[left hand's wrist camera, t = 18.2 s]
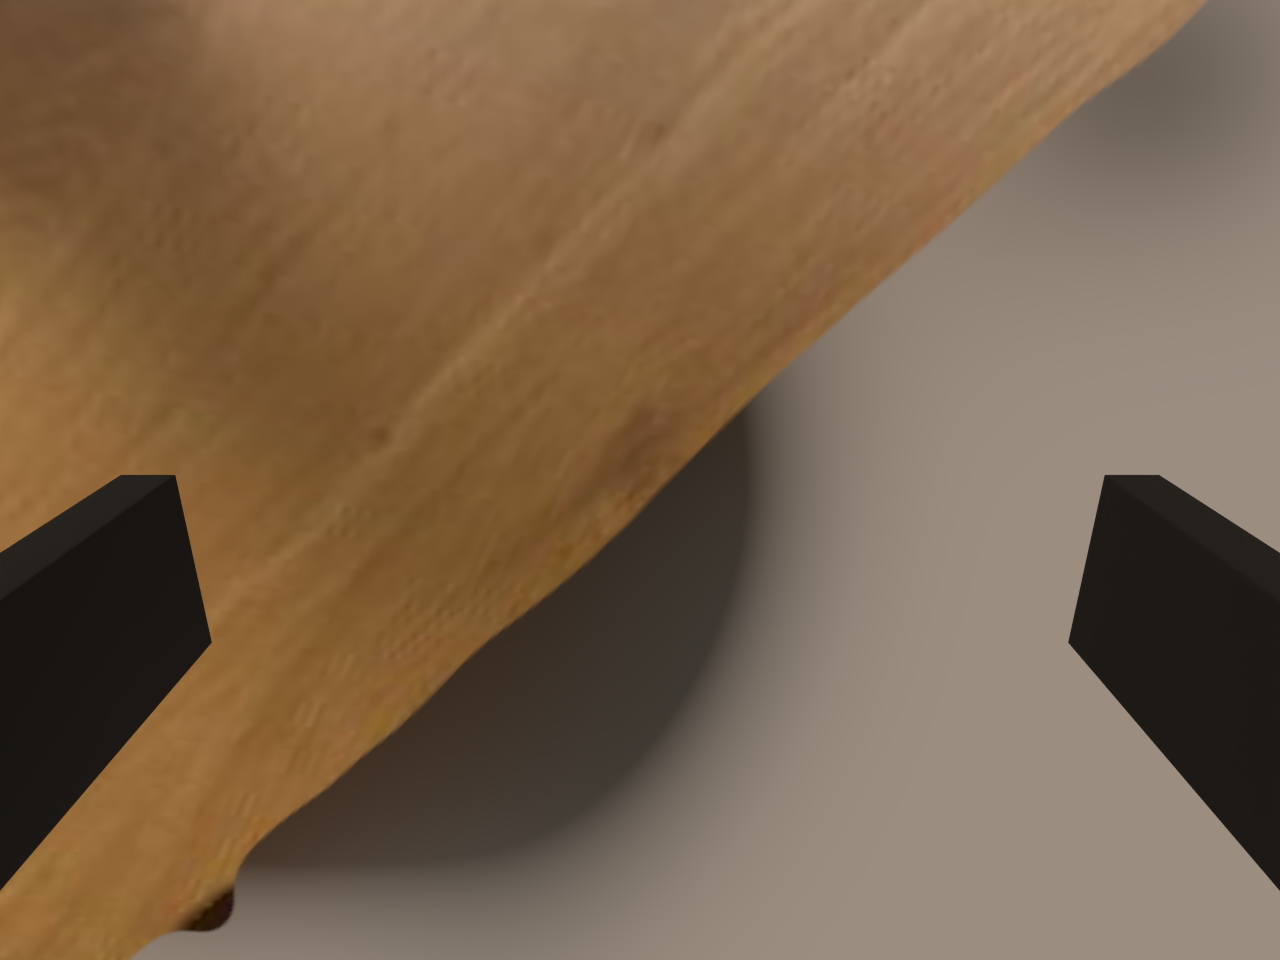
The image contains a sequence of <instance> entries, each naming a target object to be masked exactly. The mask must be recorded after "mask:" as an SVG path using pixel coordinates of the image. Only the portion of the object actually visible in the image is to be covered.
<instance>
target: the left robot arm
mask: <svg viewBox="0 0 1280 960" xmlns="http://www.w3.org/2000/svg"><path fill="white" fill-rule="evenodd" d="M211 643H212V642H211V637H210V632H209V628H208V623H207V619H206V614H205V610H204V605H203V600H202V596H201V591H200V587H199V582H198V577H197V573H196V568H195V564H194V559H193V554H192V550H191V545H190V541H189V536H188V532H187V527H186V522H185V518H184V513H183V509H182V504H181V499H180V495H179V490H178V486H177V481H176V476H175V475H120V476H119V477H117V478H116V479H114V480H112V481H111V482H109V483H108V484H106V485H105V486H103V487H102V488H100V489H99V490H97V491H95V492H94V493H92V494H91V495H89V496H88V497H86V498H85V499H83V500H81V501H80V502H78V503H77V504H75V505H74V506H72V507H71V508H69V509H68V510H66V511H64V512H63V513H61V514H60V515H58V516H57V517H55V518H54V519H52V520H50V521H49V522H47V523H46V524H44V525H43V526H41V527H40V528H38V529H37V530H35V531H33V532H32V533H30V534H29V535H27V536H26V537H24V538H23V539H21V540H19V541H18V542H16V543H15V544H13V545H12V546H10V547H9V548H7V549H6V550H4V551H2V552H1V553H0V890H1V889H2V888H3V887H4V886H5V884H6V883H7V882H8V881H9V880H10V879H11V877H12V876H13V875H14V874H15V873H16V871H17V870H18V869H19V868H20V867H21V866H22V864H23V863H24V862H25V861H26V860H27V859H28V857H29V856H30V855H31V854H32V853H33V852H34V850H35V849H36V848H37V847H38V846H39V844H40V843H41V842H42V841H43V840H44V839H45V837H46V836H47V835H48V834H49V833H50V832H51V830H52V829H53V828H54V827H55V826H56V825H57V823H58V822H59V821H60V820H61V819H62V818H63V816H64V815H65V814H66V813H67V812H68V810H69V809H70V808H71V807H72V806H73V805H74V803H75V802H76V801H77V800H78V799H79V798H80V796H81V795H82V794H83V793H84V792H85V791H86V789H87V788H88V787H89V786H90V785H91V783H92V782H93V781H94V780H95V779H96V778H97V776H98V775H99V774H100V773H101V772H102V771H103V769H104V768H105V767H106V766H107V765H108V764H109V762H110V761H111V760H112V759H113V758H114V757H115V755H116V754H117V753H118V752H119V751H120V749H121V748H122V747H123V746H124V745H125V744H126V742H127V741H128V740H129V739H130V738H131V737H132V735H133V734H134V733H135V732H136V731H137V730H138V728H139V727H140V726H141V725H142V724H143V723H144V721H145V720H146V719H147V718H148V717H149V715H150V714H151V713H152V712H153V711H154V710H155V708H156V707H157V706H158V705H159V704H160V703H161V701H162V700H163V699H164V698H165V697H166V696H167V694H168V693H169V692H170V691H171V690H172V688H173V687H174V686H175V685H176V684H177V683H178V681H179V680H180V679H181V678H182V677H183V676H184V674H185V673H186V672H187V671H188V670H189V669H190V667H191V666H192V665H193V664H194V663H195V662H196V660H197V659H198V658H199V657H200V656H201V654H202V653H203V652H204V651H205V650H206V649H207V647H208V646H209V645H210V644H211ZM1068 643H1069V644H1070V645H1071V646H1072V647H1073V649H1074V650H1075V651H1076V652H1077V653H1078V654H1079V656H1080V657H1081V658H1082V659H1083V660H1084V661H1085V663H1086V664H1087V665H1088V666H1089V667H1090V669H1091V670H1092V671H1093V672H1094V673H1095V674H1096V676H1097V677H1098V678H1099V679H1100V680H1101V681H1102V683H1103V684H1104V685H1105V686H1106V687H1107V688H1108V690H1109V691H1110V692H1111V693H1112V694H1113V696H1114V697H1115V698H1116V699H1117V700H1118V701H1119V703H1120V704H1121V705H1122V706H1123V707H1124V708H1125V710H1126V711H1127V712H1128V713H1129V714H1130V715H1131V717H1132V718H1133V719H1134V720H1135V721H1136V722H1137V724H1138V725H1139V726H1140V727H1141V728H1142V729H1143V731H1144V732H1145V733H1146V734H1147V735H1148V737H1149V738H1150V739H1151V740H1152V741H1153V742H1154V744H1155V745H1156V746H1157V747H1158V748H1159V749H1160V751H1161V752H1162V753H1163V754H1164V755H1165V757H1166V758H1167V759H1168V760H1169V761H1170V762H1171V764H1172V765H1173V766H1174V767H1175V768H1176V769H1177V771H1178V772H1179V773H1180V774H1181V775H1182V776H1183V778H1184V779H1185V780H1186V781H1187V782H1188V783H1189V785H1190V786H1191V787H1192V788H1193V789H1194V791H1195V792H1196V793H1197V794H1198V795H1199V796H1200V798H1201V799H1202V800H1203V801H1204V802H1205V803H1206V805H1207V806H1208V807H1209V808H1210V809H1211V810H1212V812H1213V813H1214V814H1215V815H1216V816H1217V818H1218V819H1219V820H1220V821H1221V822H1222V823H1223V825H1224V826H1225V827H1226V828H1227V829H1228V830H1229V832H1230V833H1231V834H1232V835H1233V836H1234V837H1235V839H1236V840H1237V841H1238V842H1239V843H1240V844H1241V846H1242V847H1243V848H1244V849H1245V850H1246V852H1247V853H1248V854H1249V855H1250V856H1251V857H1252V859H1253V860H1254V861H1255V862H1256V863H1257V864H1258V866H1259V867H1260V868H1261V869H1262V870H1263V871H1264V873H1265V874H1266V875H1267V876H1268V877H1269V879H1270V880H1271V881H1272V882H1273V883H1274V884H1275V886H1276V887H1277V888H1278V889H1279V890H1280V553H1279V552H1278V551H1276V550H1274V549H1273V548H1271V547H1270V546H1268V545H1267V544H1265V543H1264V542H1262V541H1260V540H1259V539H1257V538H1256V537H1254V536H1253V535H1251V534H1250V533H1248V532H1247V531H1245V530H1243V529H1242V528H1240V527H1239V526H1237V525H1236V524H1234V523H1233V522H1231V521H1229V520H1228V519H1226V518H1225V517H1223V516H1222V515H1220V514H1219V513H1217V512H1216V511H1214V510H1212V509H1211V508H1209V507H1208V506H1206V505H1205V504H1203V503H1202V502H1200V501H1198V500H1197V499H1195V498H1194V497H1192V496H1191V495H1189V494H1188V493H1186V492H1185V491H1183V490H1181V489H1180V488H1178V487H1177V486H1175V485H1174V484H1172V483H1171V482H1169V481H1167V480H1166V479H1164V478H1163V477H1161V476H1160V475H1105V476H1104V481H1103V486H1102V490H1101V495H1100V499H1099V504H1098V509H1097V513H1096V518H1095V522H1094V527H1093V532H1092V536H1091V541H1090V545H1089V550H1088V554H1087V559H1086V564H1085V568H1084V573H1083V577H1082V582H1081V587H1080V591H1079V596H1078V600H1077V605H1076V610H1075V614H1074V619H1073V623H1072V628H1071V632H1070V637H1069V642H1068Z"/></svg>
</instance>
